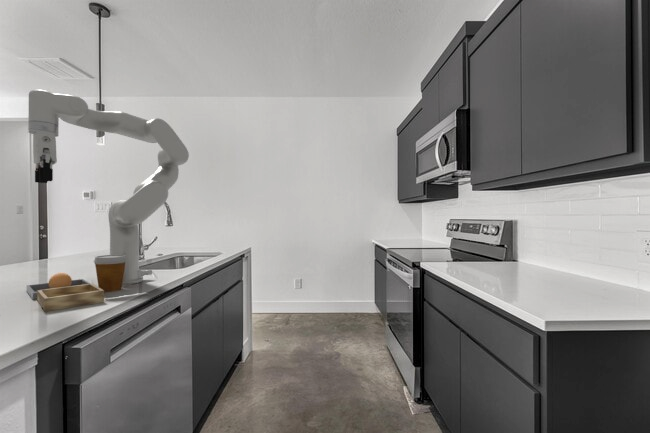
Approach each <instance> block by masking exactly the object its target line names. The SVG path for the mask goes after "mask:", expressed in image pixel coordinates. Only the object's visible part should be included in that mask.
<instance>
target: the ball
mask: <svg viewBox="0 0 650 433" xmlns="http://www.w3.org/2000/svg"><path fill="white" fill-rule="evenodd" d="M72 280H73V279H72V276H70V275H69V274H68V273H65V272H58V273H55V274H53V275H52V276H51V277H50V278H49V279H48V283H49V287H50V288H51V289H52V288H60V287H68V286H70V285H71V283H72Z"/></svg>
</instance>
